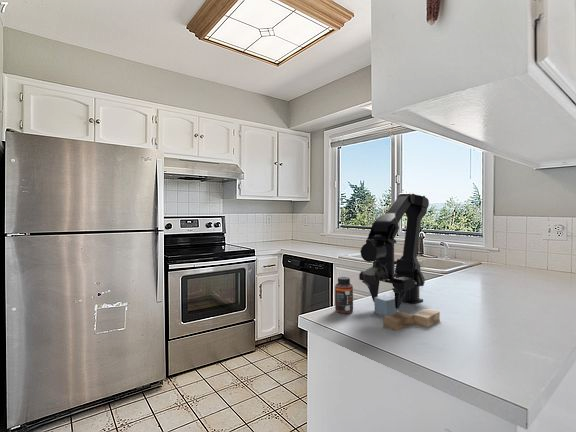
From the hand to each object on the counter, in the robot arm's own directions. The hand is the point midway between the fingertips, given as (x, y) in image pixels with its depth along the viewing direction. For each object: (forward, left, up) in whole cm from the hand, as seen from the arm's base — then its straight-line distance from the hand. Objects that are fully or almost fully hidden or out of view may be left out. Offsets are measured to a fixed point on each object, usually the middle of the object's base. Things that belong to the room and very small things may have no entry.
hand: (385, 305), depth 109 cm
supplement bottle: (+10, -9, -3) cm, 14 cm away
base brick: (+6, +10, -3) cm, 12 cm away
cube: (0, 0, -3) cm, 3 cm away
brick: (-3, +13, -3) cm, 14 cm away
